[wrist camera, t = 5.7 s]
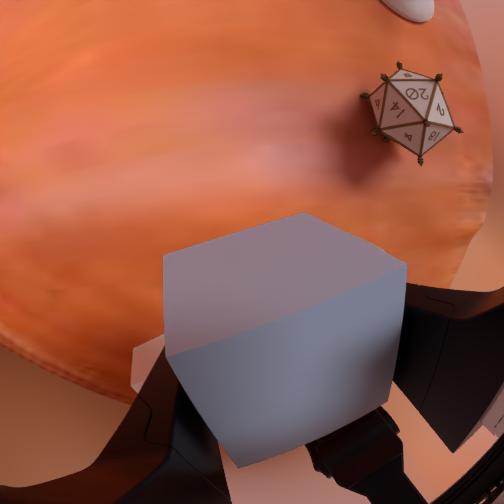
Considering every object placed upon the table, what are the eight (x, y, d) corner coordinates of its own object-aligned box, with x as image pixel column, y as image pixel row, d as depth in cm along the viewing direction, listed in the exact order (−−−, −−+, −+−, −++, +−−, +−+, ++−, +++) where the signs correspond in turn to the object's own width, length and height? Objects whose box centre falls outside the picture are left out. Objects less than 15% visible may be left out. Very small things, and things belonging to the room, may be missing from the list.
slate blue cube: (318, 323, 12) (387, 401, 7) (207, 364, 11) (238, 468, 6) (304, 211, 10) (407, 263, 5) (163, 255, 9) (165, 356, 4)
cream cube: (205, 361, 26) (215, 399, 21) (162, 380, 25) (165, 418, 20) (179, 325, 23) (184, 363, 19) (133, 347, 23) (130, 386, 18)
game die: (351, 128, 26) (360, 162, 18) (361, 52, 20) (377, 51, 13) (428, 148, 24) (461, 190, 17) (443, 77, 19) (489, 93, 11)
